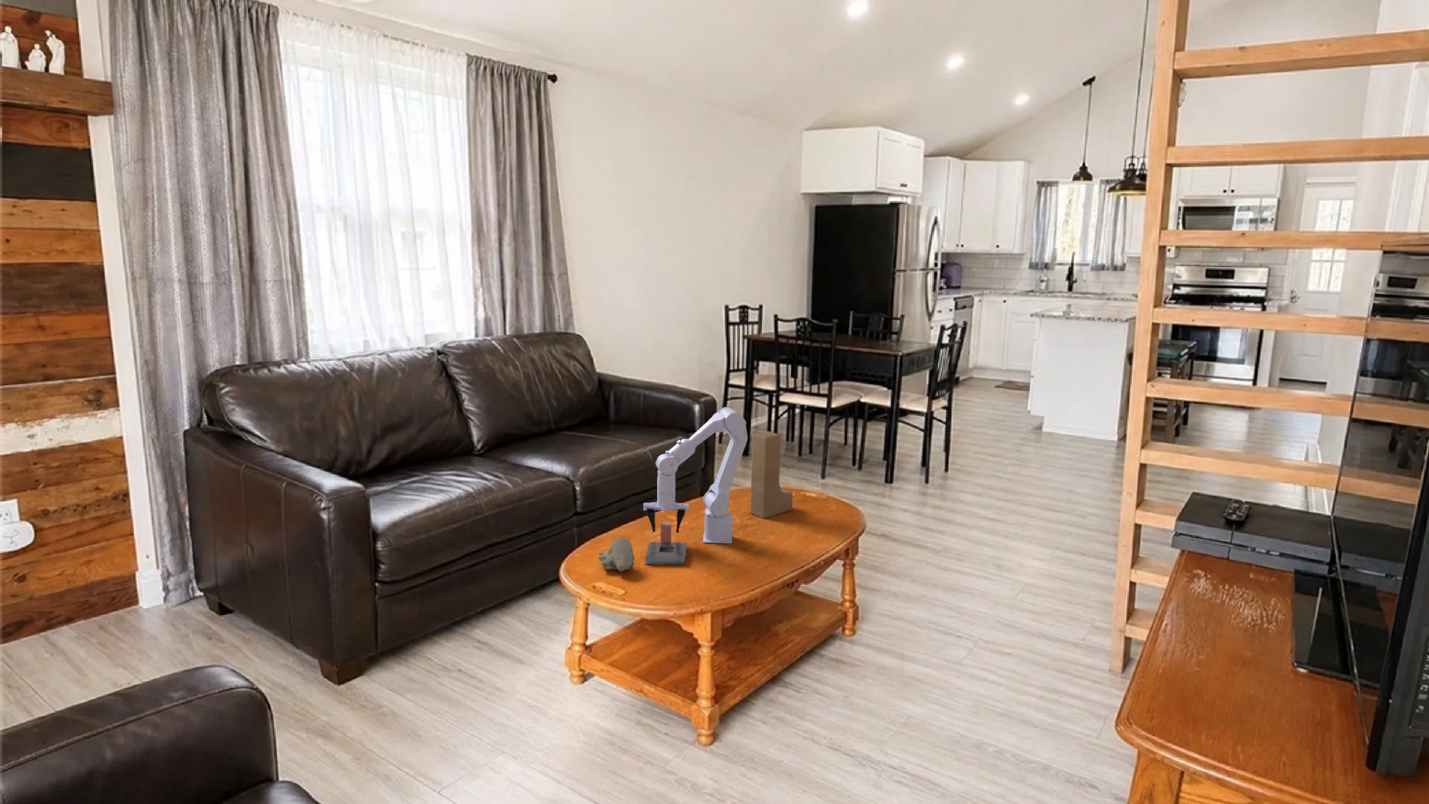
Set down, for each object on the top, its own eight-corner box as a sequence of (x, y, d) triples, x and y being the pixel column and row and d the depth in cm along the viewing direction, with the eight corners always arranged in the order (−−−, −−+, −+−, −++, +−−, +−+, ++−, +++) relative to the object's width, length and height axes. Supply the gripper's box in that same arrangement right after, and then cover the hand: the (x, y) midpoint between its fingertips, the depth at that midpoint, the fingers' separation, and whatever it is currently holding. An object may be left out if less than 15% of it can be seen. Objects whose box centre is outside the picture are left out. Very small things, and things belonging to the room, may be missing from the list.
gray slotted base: (686, 550, 260) (686, 542, 260) (684, 565, 249) (684, 557, 248) (649, 549, 260) (649, 541, 260) (645, 564, 249) (645, 556, 248)
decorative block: (792, 510, 299) (795, 431, 293) (764, 519, 289) (766, 437, 283) (778, 505, 305) (780, 427, 299) (749, 513, 295) (751, 433, 289)
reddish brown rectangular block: (671, 542, 267) (671, 521, 265) (670, 545, 264) (670, 525, 262) (661, 541, 267) (661, 521, 265) (660, 545, 264) (660, 525, 262)
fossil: (624, 571, 252) (594, 561, 250) (636, 539, 253) (606, 529, 250) (631, 583, 238) (599, 572, 236) (644, 549, 239) (612, 538, 236)
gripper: (642, 494, 258) (642, 535, 261) (688, 496, 258) (687, 536, 260) (644, 487, 265) (644, 527, 267) (689, 489, 265) (688, 528, 267)
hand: (665, 531), depth 264 cm, fingers open, 7 cm apart
